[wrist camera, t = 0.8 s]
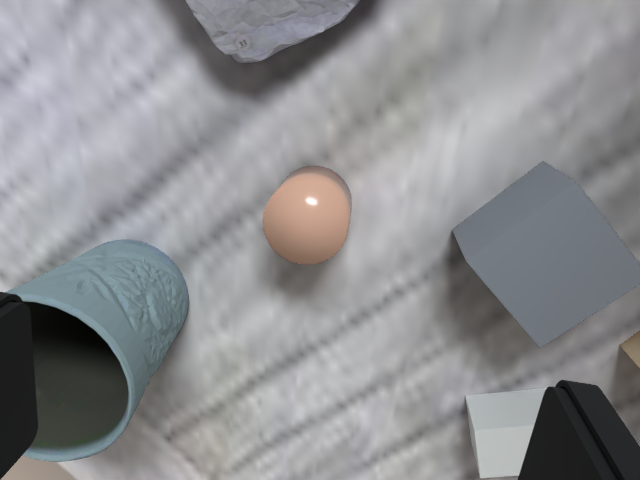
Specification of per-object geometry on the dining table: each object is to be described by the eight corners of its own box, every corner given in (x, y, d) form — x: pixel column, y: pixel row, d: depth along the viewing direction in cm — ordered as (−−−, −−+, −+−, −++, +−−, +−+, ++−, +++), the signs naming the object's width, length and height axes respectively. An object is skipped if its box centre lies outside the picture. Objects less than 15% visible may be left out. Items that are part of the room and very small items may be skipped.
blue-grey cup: (52, 314, 40) (-73, 413, 29) (92, 200, 37) (-32, 262, 26) (173, 372, 41) (96, 491, 30) (223, 265, 38) (158, 353, 26)
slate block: (542, 160, 33) (576, 181, 28) (605, 241, 35) (650, 277, 29) (451, 229, 35) (466, 261, 30) (514, 303, 37) (539, 348, 31)
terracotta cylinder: (326, 151, 34) (318, 166, 30) (365, 215, 36) (363, 239, 31) (263, 189, 36) (246, 209, 31) (303, 250, 37) (292, 278, 32)
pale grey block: (549, 386, 38) (568, 422, 35) (552, 432, 40) (571, 471, 36) (464, 394, 39) (474, 430, 36) (470, 439, 40) (480, 478, 37)
